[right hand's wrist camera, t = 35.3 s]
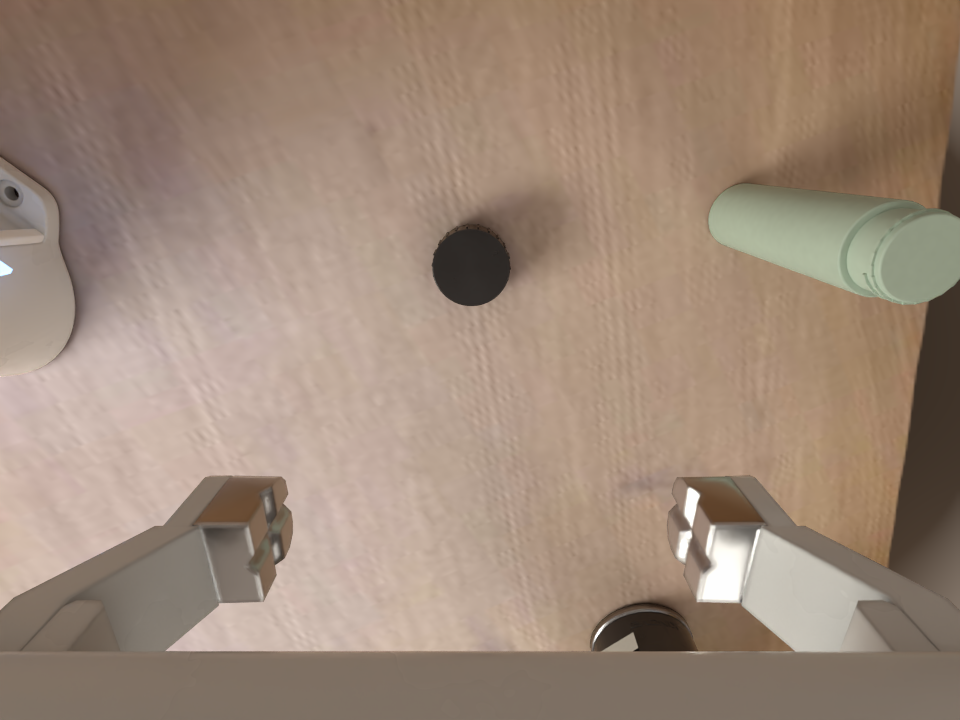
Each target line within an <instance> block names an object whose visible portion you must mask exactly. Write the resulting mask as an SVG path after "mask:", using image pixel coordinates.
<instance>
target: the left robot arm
mask: <svg viewBox="0 0 960 720" xmlns="http://www.w3.org/2000/svg"><path fill="white" fill-rule="evenodd" d="M590 648H591V652H660V651H698V650H697V647H696V645H695V643H694V640H693V636H692V633H691V631H690V629H689V626H688V624H687V623H686V621H685V620H684V619H683V617H682V616H680V615H679V614H678V613H677V612H675V611H673V610H671V609H669V608H666V607H663V606H659V605H653V604H639V605H633V606H628V607H625V608H622V609H619V610H617V611H615V612H613V613H611V614H610V615H608V616H607V617H605V618H604V619H603V620H602V621H601V622H600V623H599V624H598V625H597V627H596V628H595V630H594V632H593V634H592V636H591V641H590Z"/></svg>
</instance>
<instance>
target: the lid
mask: <svg viewBox="0 0 960 720" xmlns="http://www.w3.org/2000/svg"><path fill="white" fill-rule="evenodd" d="M438 245H439V246H438V248H437V250H435V252H434V254H433V255H434V259H433V263H432V268H433V277H434V280H435V282H436V284H437V286H438V288H439V289H440V291H441V292H442V293H443V294H444V295H445V296H446V297H447V298H448V299H450V300H452V301H453V302H455V303H458V304H461V305H465V306H478V305H482V304H485V303H487V302H489V301H491V300H493V299H494V298H496V297H497V296H498V295H499V294H500V293H501V291H502V290H503V289H504V287H505V285H506V283H507V281H508V278H509V273H510V270H511V268H510V263H509V259H510V257H509V253H507V251H506V246H505V243H503V242H502V241H501V239H500V238H499V235H498V234H497V235H496V234H495V233H494V232H493V231H491V230H490V228H488V229H487V228H485V227H482V226H479V224H478V225H468V224H467V225H464V226H460V227H458V226H457V227H456V228H455V229H454V230H452V231H450V232H447V234H446V236H445V237H444V238H443V239H442V240H440V241H439V244H438Z"/></svg>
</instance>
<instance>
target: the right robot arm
mask: <svg viewBox="0 0 960 720" xmlns="http://www.w3.org/2000/svg"><path fill="white" fill-rule="evenodd" d="M14 188H15V189H16V190H17V191H18V194H19V198H18V197H17V196H16V195H15V193H14ZM74 320H75V296H74V290H73V286H72V281H71V278H70V275H69V272H68V270H67V267H66V264H65V262H64V259H63V256H62V253H61V250H60V246H59V210H58V205H57V203H56V200H55V199H54V197H53V196H52V194H51V193H50V192H49V191H47V190H46V189H45V188H44V187H42V186H41V185H40V184H38V183H37V182H35V181H34V180H32V179H31V178H30V177H28V176H27V175H25V174H24V173H23V172H21V171H20V170H18V169H17V168H16V167H14V166H13V165H11V164H10V163H9V162H7V161H6V160H4V159H3V158H1V157H0V377H5V376H13V375H20V374H25V373H29V372H32V371H35V370H37V369H39V368H41V367H43V366H45V365H46V364H48V363H49V362H51V361H52V360H53V359H54V358H55V357H56V356H57V355H58V354H59V353H60V352H61V351H62V350H63V348H64V347H65V345H66V343H67V342H68V340H69V338H70V335H71V332H72V329H73V325H74ZM287 495H288V490H287V485H286V481H285V480H284V479H283V478H282V477H274V476H209V477H205V478H204V479H203V480H202V481H201V483H200V484H199V485H198V486H197V487H196V488H195V490H194V491H193V492H192V493H191V494H190V495H189V496H188V498H187V499H186V500H185V501H184V502H183V503H182V505H181V506H180V507H179V508H178V509H177V510H176V512H175V513H174V514H173V515H172V516H171V517H170V519H169V520H168V521H167V522H166V523H165V524H164V525H163V526H154V527H152V528H150V529H148V530H146V531H144V532H142V533H140V534H139V535H137V536H135V537H133V538H131V539H129V540H127V541H125V542H123V543H121V544H119V545H117V546H115V547H113V548H111V549H109V550H107V551H105V552H103V553H101V554H99V555H97V556H95V557H93V558H91V559H89V560H87V561H85V562H83V563H81V564H79V565H77V566H76V567H74V568H72V569H70V570H68V571H66V572H64V573H62V574H60V575H58V576H56V577H54V578H52V579H50V580H48V581H46V582H44V583H42V584H40V585H38V586H36V587H34V588H32V589H30V590H28V591H26V592H24V593H22V594H20V595H18V596H16V597H14V598H13V599H12V600H11V601H10V602H9V603H8V604H7V605H6V606H4V607H3V608H2V609H1V610H0V720H960V610H959V609H958V608H957V607H956V606H955V605H954V604H953V603H951V602H950V601H949V600H948V599H947V598H945V597H943V596H941V595H939V594H937V593H935V592H933V591H931V590H929V589H927V588H925V587H924V586H922V585H920V584H918V583H916V582H914V581H912V580H910V579H908V578H906V577H904V576H902V575H900V574H898V573H896V572H894V571H892V570H890V569H888V568H886V567H884V566H882V565H880V564H878V563H876V562H874V561H872V560H871V559H869V558H867V557H865V556H863V555H861V554H859V553H857V552H855V551H853V550H851V549H849V548H847V547H845V546H843V545H841V544H839V543H837V542H835V541H833V540H831V539H829V538H827V537H825V536H823V535H821V534H819V533H818V532H816V531H814V530H812V529H810V528H808V527H806V526H797V525H796V524H795V523H794V522H793V521H792V520H791V519H790V517H789V516H788V515H787V514H786V513H785V512H784V510H783V509H782V508H781V507H780V506H779V505H778V503H777V502H776V501H775V500H774V499H773V498H772V497H771V495H770V494H769V493H768V492H767V491H766V490H765V488H764V487H763V486H762V485H761V484H760V483H759V481H758V480H757V479H756V478H754V477H752V476H750V475H742V476H725V477H677V478H676V480H675V482H674V484H673V490H672V495H673V497H674V499H675V501H676V503H677V504H676V505H675V506H674V507H673V508H672V509H671V510H670V511H669V513H668V521H667V532H668V540H669V544H670V547H671V550H672V552H673V554H674V557H675V558H676V559H677V560H679V561H680V562H681V563H683V564H684V565H685V569H684V577H685V579H686V581H687V583H688V585H689V587H690V589H691V591H692V594H693V596H694V598H695V600H696V602H720V603H742V604H741V605H742V606H743V607H744V608H745V609H746V610H747V611H749V612H750V613H751V614H752V615H753V616H754V617H756V618H757V619H758V620H759V621H760V622H762V623H763V624H764V625H765V626H766V627H767V628H769V629H770V630H771V631H772V632H773V633H775V634H776V635H777V636H778V637H779V638H780V639H782V640H783V641H784V642H785V643H786V644H788V645H789V646H790V647H791V648H792V649H793V650H795V651H660V652H512V651H218V652H201V651H166V650H167V649H168V648H169V647H170V646H171V645H173V644H174V643H175V642H176V641H177V640H179V639H180V638H181V637H182V636H183V635H184V634H186V633H187V632H188V631H189V630H190V629H192V628H193V627H194V626H195V625H196V624H197V623H199V622H200V621H201V620H202V619H203V618H205V617H206V616H207V615H208V614H209V613H210V612H212V611H213V610H214V609H215V608H216V607H218V606H219V604H218V603H239V602H264V600H265V598H266V596H267V594H268V592H269V590H270V587H271V585H272V583H273V581H274V579H275V577H276V569H275V565H276V564H277V563H279V562H280V561H281V560H283V559H284V558H285V557H286V554H287V552H288V550H289V548H290V544H291V539H292V534H293V520H292V513H291V511H290V510H289V509H288V508H287V507H286V506H285V505H284V504H283V503H284V501H285V499H286V497H287Z"/></svg>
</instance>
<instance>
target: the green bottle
mask: <svg viewBox="0 0 960 720" xmlns="http://www.w3.org/2000/svg"><path fill="white" fill-rule="evenodd" d="M708 223H709V229H710V232H711V234H712V236H713V237H714V239H715V240H716V241H718V242H719V243H720V244H722V245H725V246H727V247H730V248H733V249H736V250H738V251H741V252H744V253H746V254H749V255H752V256H755V257H757V258H760V259H763V260H765V261H768V262H771V263H774V264H776V265H779V266H782V267H784V268H787V269H790V270H793V271H795V272H798V273H801V274H803V275H806V276H809V277H811V278H814V279H817V280H820V281H822V282H825V283H828V284H830V285H833V286H836V287H839V288H841V289H844V290H847V291H849V292H852V293H855V294H858V295H861V296H865V297H880V298H882V299H886V300H888V301H891V302H894V303H898V304H903V305H906V304H919V303H922V302H926V301H930V300H932V299H933V298H935V297H937V296H939V295H942V294H943V293H944V292H946V291H947V290H948V289H949V288H951V287H952V286H954V285H955V284H956V282H957V281H958V280H959V279H960V218H958V217H956V216H954V215H952V214H951V213H949V212H948V211H944V210H940V209H936V208H934V209H926V208H925V207H924V206H922V205H920V204H918V203H916V202H913V201H908V200H900V199H891V198H881V197H872V196H862V195H853V194H843V193H834V192H824V191H815V190H805V189H796V188H787V187H777V186H768V185H758V184H748V183H743V184H737V185H734V186H732V187H730V188H728V189H726V190H725V191H724V192H722V193H721V194H720V195H719V196H718V197H717V199H716V200H715V201H714V203H713V205H712V207H711V210H710V213H709V219H708Z"/></svg>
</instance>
